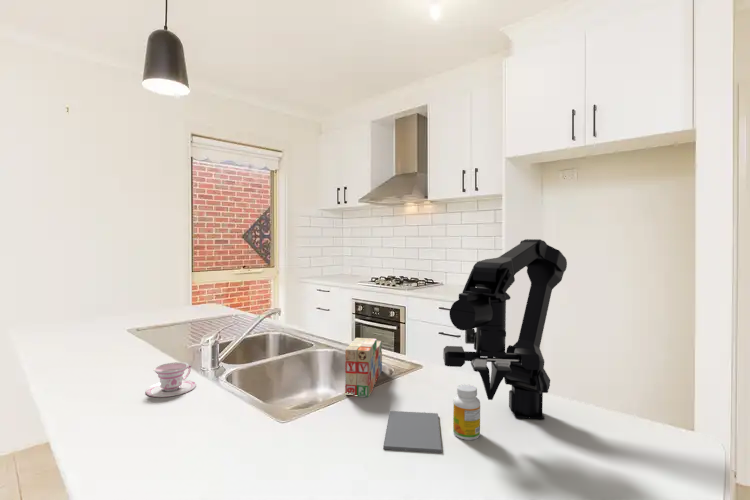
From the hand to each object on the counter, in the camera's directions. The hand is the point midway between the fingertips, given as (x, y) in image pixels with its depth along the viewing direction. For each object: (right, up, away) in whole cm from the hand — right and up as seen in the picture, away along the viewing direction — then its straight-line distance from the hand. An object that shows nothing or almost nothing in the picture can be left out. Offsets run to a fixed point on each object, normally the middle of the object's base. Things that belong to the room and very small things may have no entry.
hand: (489, 399), depth 83 cm
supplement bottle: (-5, -8, +1) cm, 9 cm away
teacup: (-78, -7, +25) cm, 82 cm away
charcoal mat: (-16, -7, +2) cm, 17 cm away
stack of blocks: (-26, -7, +31) cm, 41 cm away
